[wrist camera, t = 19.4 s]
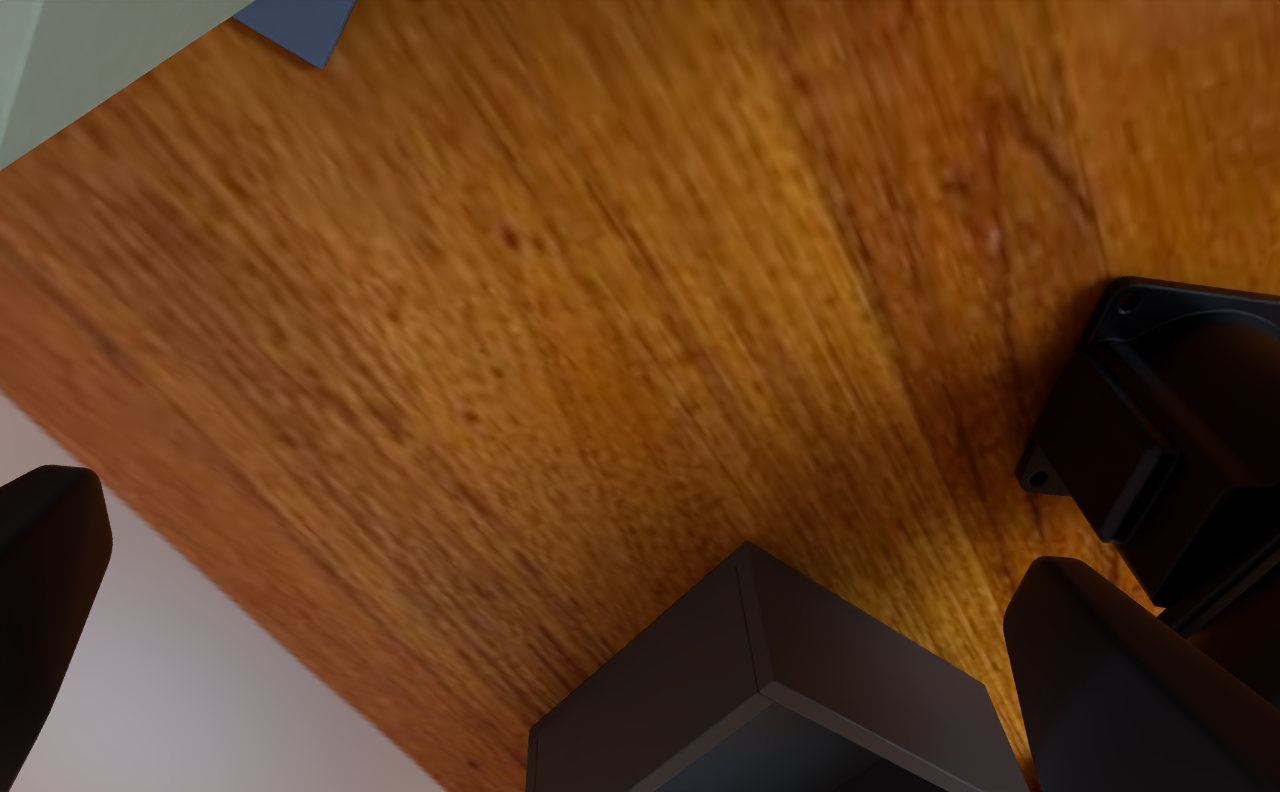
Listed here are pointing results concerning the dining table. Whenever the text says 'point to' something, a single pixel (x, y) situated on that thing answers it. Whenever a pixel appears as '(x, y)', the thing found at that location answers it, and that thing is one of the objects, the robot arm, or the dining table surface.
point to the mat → (299, 25)
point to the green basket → (85, 57)
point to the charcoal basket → (772, 702)
